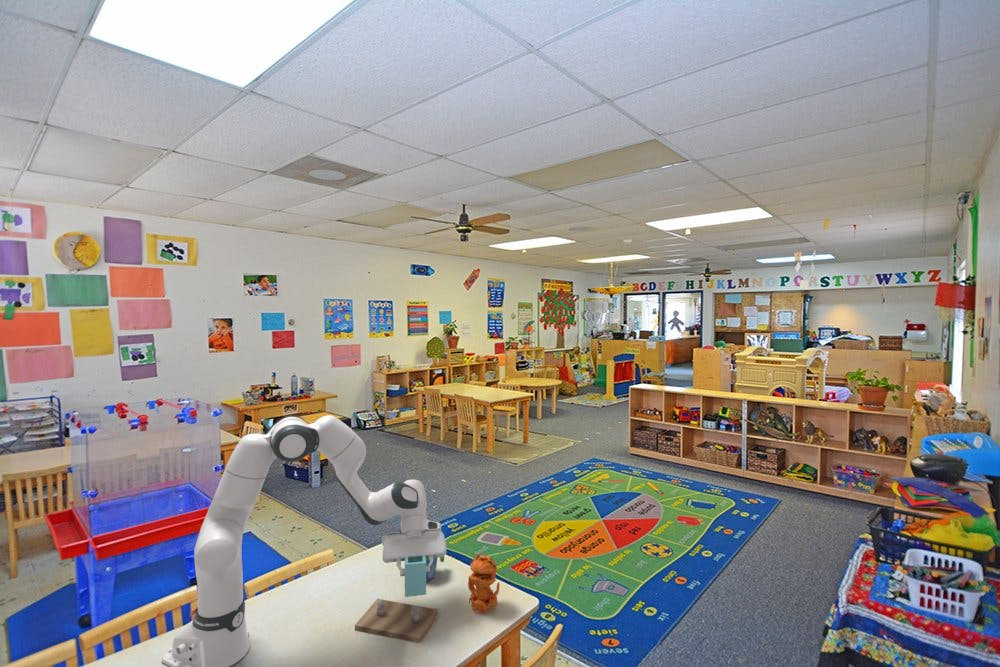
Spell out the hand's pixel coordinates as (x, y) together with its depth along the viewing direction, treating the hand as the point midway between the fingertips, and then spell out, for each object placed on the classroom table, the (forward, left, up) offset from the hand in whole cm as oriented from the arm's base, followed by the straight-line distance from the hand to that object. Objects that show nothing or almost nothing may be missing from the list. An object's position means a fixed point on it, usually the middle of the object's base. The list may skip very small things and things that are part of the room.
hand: (415, 574), depth 144 cm
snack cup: (-8, +27, -17) cm, 32 cm away
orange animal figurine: (+18, +15, -17) cm, 28 cm away
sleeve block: (0, +1, -5) cm, 5 cm away
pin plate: (-6, +1, -17) cm, 18 cm away
